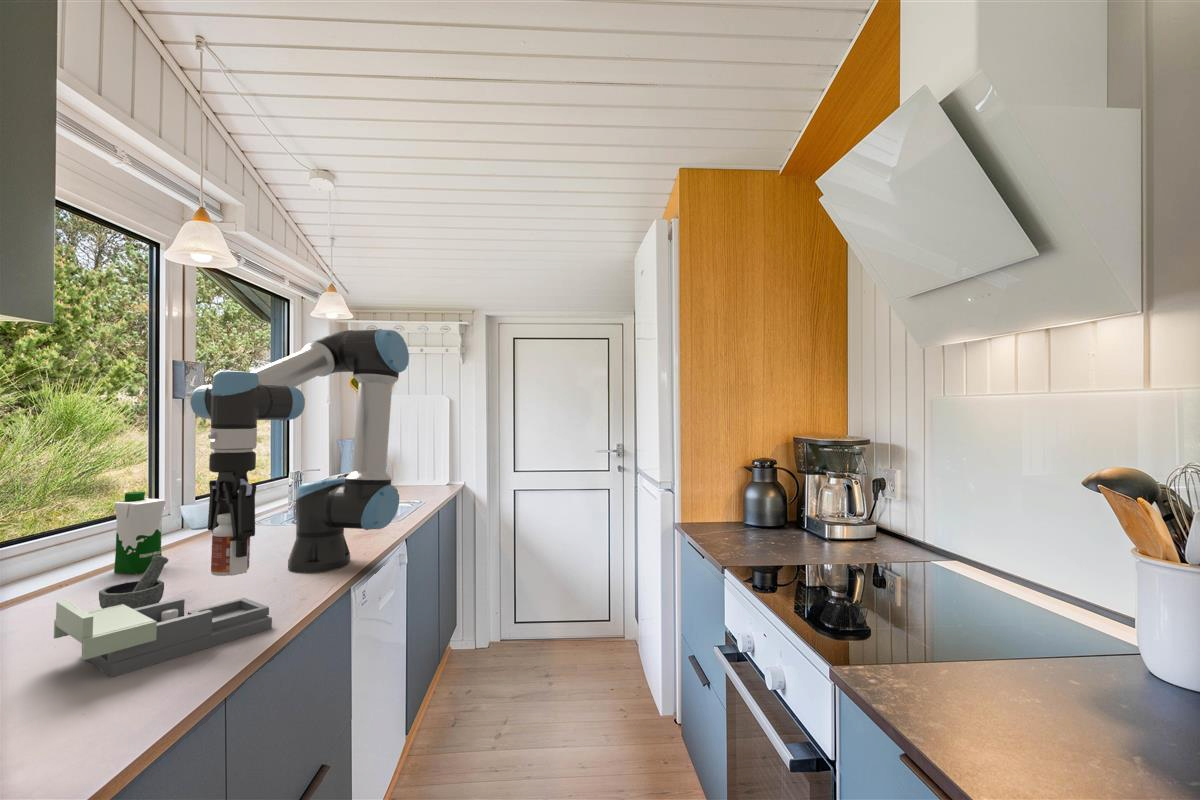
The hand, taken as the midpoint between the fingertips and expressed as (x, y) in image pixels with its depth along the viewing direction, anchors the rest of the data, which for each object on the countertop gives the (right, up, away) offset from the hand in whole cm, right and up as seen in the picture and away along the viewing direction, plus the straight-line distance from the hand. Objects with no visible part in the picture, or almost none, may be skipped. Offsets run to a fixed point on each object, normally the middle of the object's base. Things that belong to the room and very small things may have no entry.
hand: (229, 570), depth 107 cm
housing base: (-4, -11, -7) cm, 13 cm away
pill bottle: (0, -1, 0) cm, 1 cm away
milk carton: (-49, -12, +38) cm, 63 cm away
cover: (-10, -6, -16) cm, 20 cm away
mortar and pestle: (-21, -11, +3) cm, 24 cm away
